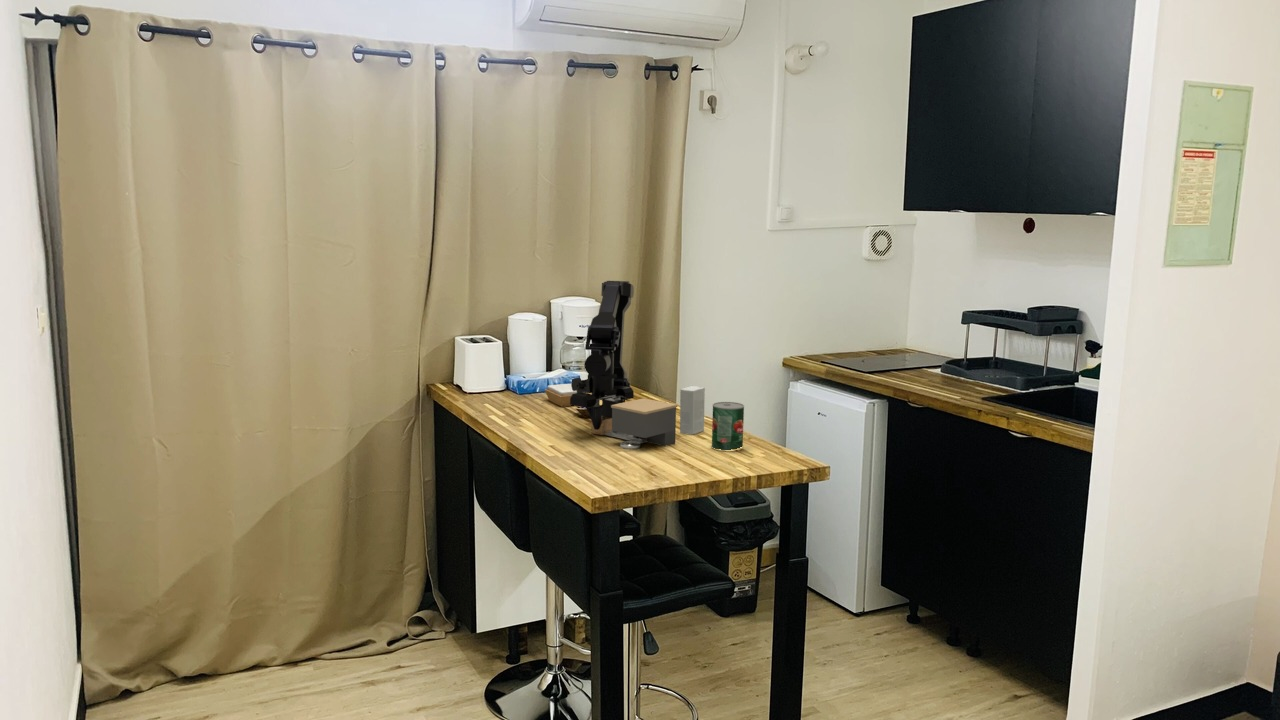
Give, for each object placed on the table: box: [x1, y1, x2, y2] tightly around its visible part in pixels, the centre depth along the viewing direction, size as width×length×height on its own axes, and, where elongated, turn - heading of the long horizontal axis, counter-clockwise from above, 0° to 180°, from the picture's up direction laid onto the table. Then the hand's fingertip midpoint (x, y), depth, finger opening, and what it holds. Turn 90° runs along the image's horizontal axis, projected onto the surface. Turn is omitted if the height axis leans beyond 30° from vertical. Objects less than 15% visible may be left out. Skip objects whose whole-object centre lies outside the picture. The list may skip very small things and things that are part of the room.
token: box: [620, 440, 641, 450], centre depth 247 cm, size 5×5×1 cm
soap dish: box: [544, 383, 585, 408], centre depth 299 cm, size 12×10×5 cm
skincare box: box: [679, 385, 706, 436], centre depth 263 cm, size 6×4×12 cm
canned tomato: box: [711, 401, 745, 450], centre depth 247 cm, size 8×8×11 cm
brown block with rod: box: [590, 416, 648, 444], centre depth 255 cm, size 4×17×4 cm, turn 48°
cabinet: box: [611, 398, 678, 447], centre depth 249 cm, size 12×11×10 cm
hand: (602, 428), depth 259 cm, fingers closed on brown block with rod, 4 cm apart
